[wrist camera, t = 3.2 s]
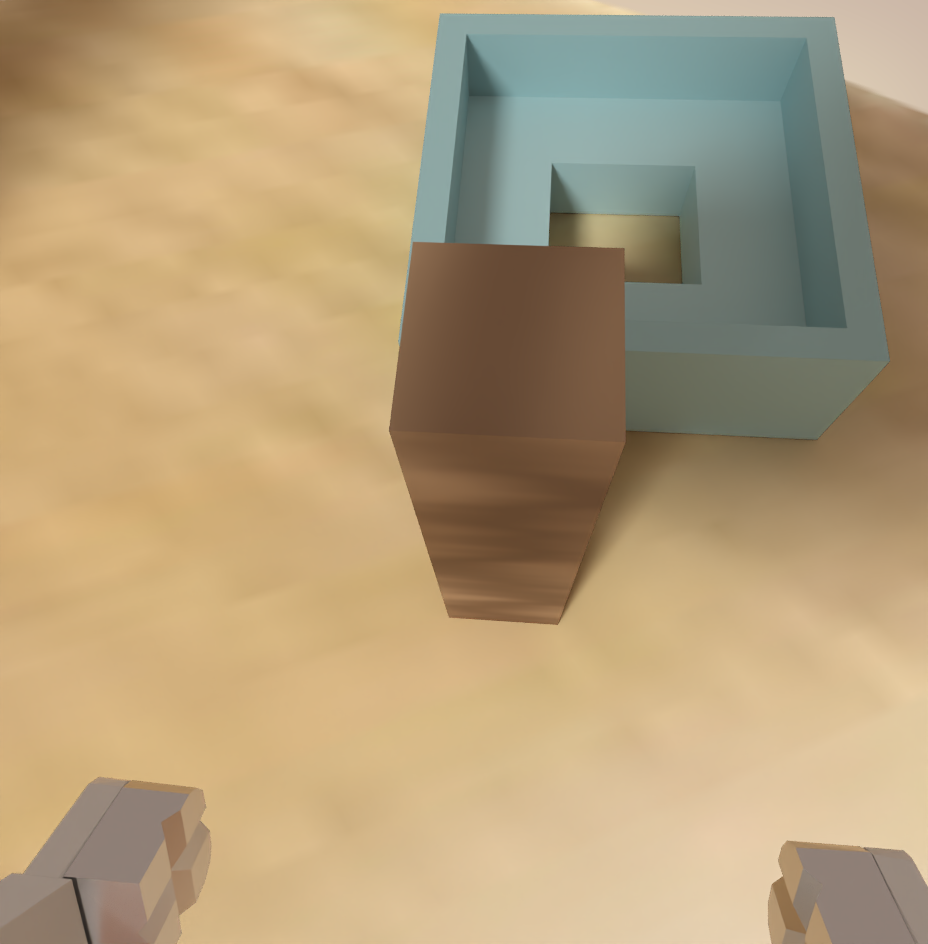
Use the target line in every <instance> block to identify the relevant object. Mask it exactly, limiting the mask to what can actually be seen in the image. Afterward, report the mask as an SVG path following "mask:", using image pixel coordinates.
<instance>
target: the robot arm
mask: <svg viewBox="0 0 928 944" xmlns="http://www.w3.org/2000/svg"><path fill="white" fill-rule="evenodd" d="M205 809H206V804H205V799H204V793H203V790H201V789H198V788H193V787H185V786H177V785H168V784H160V783H152V782H143V781H135V780H132V781H131V780H122V779H113V778H104V777H98V778H97V779H95V780H94V781H92V782H91V783H89V784H88V785H87V786H86V788H85V789H84V790H83V792H82V793H81V795H80V796H79V797H78V799H77V800H76V801H75V803H74V804H73V806H72V807H71V808H70V810H69V811H68V812H67V814H66V815H65V817H64V818H63V819H62V821H61V822H60V823H59V825H58V826H57V827H56V829H55V830H54V832H53V833H52V834H51V836H50V837H49V838H48V840H47V841H46V843H45V844H44V845H43V847H42V848H41V849H40V851H39V852H38V853H37V855H36V856H35V858H34V859H33V860H32V862H31V863H30V864H29V866H28V867H27V869H26V870H25V871H24V873H23V874H16V873H12V874H10V875H9V876H7V877H5V878H4V879H2V880H0V944H177V942H178V940H179V938H180V936H181V934H182V931H181V925H180V919H179V915H180V914H182V913H183V912H184V911H185V910H187V909H188V908H189V907H191V906H192V905H193V904H194V903H196V901H197V899H198V897H199V894H200V892H201V890H202V888H203V885H204V883H205V879H206V875H207V872H208V868H209V864H210V858H211V837H210V830H209V829H208V828H207V827H206V826H205V825H204V824H203V823H202V822H201V821H200V819H201V817H202V815H203V813H204V811H205ZM778 862H779V865H780V868H781V871H782V874H783V876H782V877H781V878H780V879H778V880H777V881H776V882H774V883H773V884H772V886H771V891H770V896H769V900H768V925H769V931H770V937H771V943H772V944H928V886H927V885H926V883H925V881H924V879H923V877H922V875H921V874H920V872H919V870H918V868H917V866H916V865H915V863H914V861H913V859H912V858H911V857H910V856H909V855H908V854H907V853H906V852H905V851H903V850H891V849H879V848H868V847H864V848H861V847H860V846H848V845H835V844H822V843H810V842H797V841H786V843H785V844H784V845H783V846H782V848H781V852H780V855H779V859H778Z"/></svg>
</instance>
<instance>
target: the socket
mask: <svg viewBox="0 0 928 944" xmlns="http://www.w3.org/2000/svg"><path fill="white" fill-rule="evenodd" d="M550 212H551V213H587V214H623V215H659V216H679V218H680V242H681V266H682V284H671V283H642V282H625V407H626V431H646V432H667V433H688V434H708V435H729V436H750V437H770V438H791V439H812V440H817V439H818V438H819V437H820V436H821V435H822V434H823V433H824V432H825V430H826V429H827V428H828V427H829V426H830V425H831V424H832V423H833V422H834V421H835V420H836V419H837V418H838V417H839V415H840V414H841V413H842V412H843V411H844V410H845V409H846V408H847V407H848V406H849V405H850V404H851V403H852V402H853V400H854V399H855V398H856V397H857V396H858V395H859V394H860V393H861V392H862V391H863V390H864V389H865V388H866V387H867V385H868V384H869V383H870V382H871V381H872V380H873V379H874V378H875V377H876V376H877V375H878V374H879V373H880V372H881V371H882V369H883V368H884V367H885V366H886V365H887V364H888V363H889V362H890V358H889V352H888V346H887V340H886V334H885V327H884V321H883V315H882V309H881V303H880V296H879V290H878V284H877V278H876V272H875V266H874V259H873V253H872V247H871V241H870V235H869V228H868V222H867V216H866V210H865V204H864V197H863V191H862V185H861V179H860V173H859V167H858V160H857V154H856V148H855V142H854V136H853V129H852V123H851V117H850V111H849V105H848V98H847V92H846V86H845V80H844V74H843V68H842V61H841V55H840V49H839V43H838V37H837V31H836V25H835V18H834V17H753V16H749V17H747V16H745V17H744V16H644V15H536V14H440V18H439V25H438V33H437V41H436V49H435V57H434V65H433V73H432V81H431V88H430V96H429V104H428V112H427V120H426V128H425V136H424V144H423V152H422V159H421V167H420V175H419V183H418V191H417V199H416V207H415V215H414V222H413V230H412V238H411V246H410V254H409V262H408V270H407V278H406V285H405V293H404V301H403V309H402V317H401V325H400V333H399V341H398V342H399V346H400V340H401V332H402V324H403V316H404V308H405V300H406V292H407V284H408V276H409V268H410V261H411V253H412V245H413V242H436V243H468V244H501V245H533V246H548V243H549V218H550Z"/></svg>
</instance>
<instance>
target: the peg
mask: <svg viewBox="0 0 928 944" xmlns="http://www.w3.org/2000/svg"><path fill="white" fill-rule="evenodd" d="M389 432H390V435H391V438H392V441H393V444H394V447H395V450H396V454H397V457H398V460H399V463H400V466H401V469H402V472H403V475H404V478H405V482H406V485H407V488H408V491H409V494H410V497H411V500H412V503H413V507H414V510H415V513H416V516H417V519H418V522H419V525H420V528H421V531H422V535H423V538H424V541H425V544H426V547H427V550H428V553H429V556H430V560H431V563H432V566H433V569H434V572H435V575H436V578H437V581H438V584H439V588H440V591H441V594H442V597H443V600H444V603H445V606H446V609H447V613H448V616H449V617H451V618H466V619H481V620H495V621H510V622H525V623H540V624H555V625H558V623H559V620H560V617H561V615H562V612H563V609H564V607H565V604H566V601H567V599H568V596H569V593H570V591H571V588H572V585H573V582H574V580H575V577H576V574H577V572H578V569H579V566H580V564H581V561H582V558H583V556H584V553H585V550H586V548H587V545H588V542H589V539H590V537H591V534H592V531H593V529H594V526H595V523H596V521H597V518H598V515H599V513H600V510H601V507H602V505H603V502H604V499H605V497H606V494H607V491H608V488H609V486H610V483H611V480H612V478H613V475H614V472H615V470H616V467H617V464H618V462H619V459H620V456H621V454H622V451H623V448H624V446H625V443H626V407H625V262H624V248H597V247H565V246H533V245H501V244H468V243H436V242H413V245H412V253H411V261H410V268H409V276H408V284H407V292H406V300H405V308H404V316H403V324H402V332H401V340H400V348H399V356H398V364H397V372H396V380H395V388H394V396H393V404H392V412H391V420H390V427H389Z"/></svg>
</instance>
